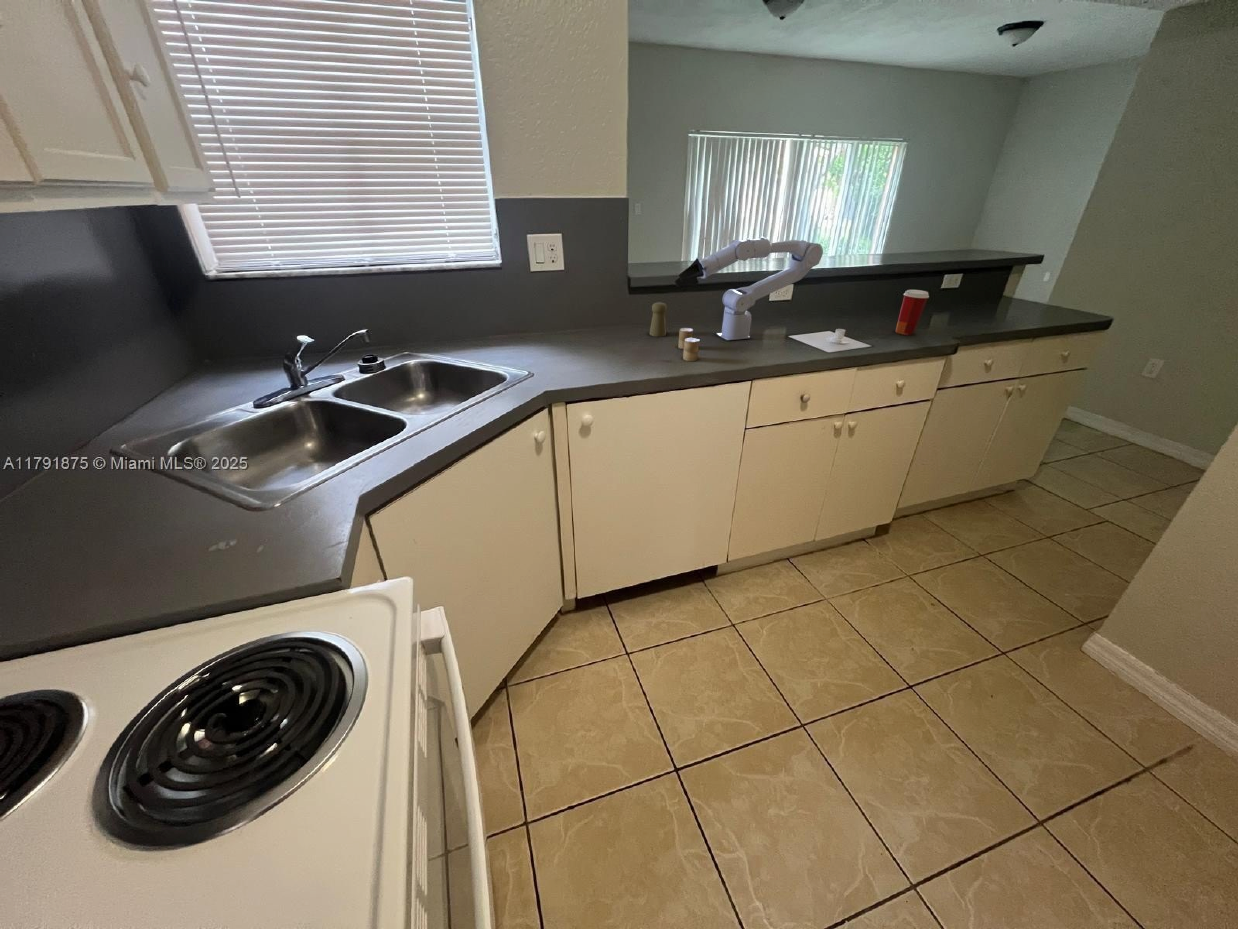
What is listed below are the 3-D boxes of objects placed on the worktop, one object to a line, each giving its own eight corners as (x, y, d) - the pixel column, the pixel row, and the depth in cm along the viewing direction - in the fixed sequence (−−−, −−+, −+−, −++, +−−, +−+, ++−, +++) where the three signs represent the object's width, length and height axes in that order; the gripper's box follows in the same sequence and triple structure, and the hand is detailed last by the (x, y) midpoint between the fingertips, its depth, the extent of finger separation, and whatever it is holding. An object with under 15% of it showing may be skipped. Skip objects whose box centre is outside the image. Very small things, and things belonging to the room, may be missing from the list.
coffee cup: (917, 332, 185) (931, 291, 177) (915, 337, 179) (929, 294, 171) (893, 328, 189) (905, 288, 181) (890, 333, 183) (903, 291, 175)
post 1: (687, 344, 165) (689, 327, 162) (693, 348, 161) (695, 330, 158) (675, 346, 163) (677, 328, 160) (681, 350, 160) (683, 331, 157)
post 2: (692, 356, 155) (694, 337, 152) (699, 360, 151) (701, 341, 148) (680, 357, 153) (682, 338, 150) (687, 361, 150) (688, 342, 147)
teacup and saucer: (836, 346, 167) (839, 334, 165) (819, 339, 173) (822, 328, 171) (855, 343, 170) (858, 331, 168) (837, 337, 176) (840, 326, 174)
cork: (666, 332, 178) (668, 301, 172) (665, 336, 172) (668, 305, 167) (649, 331, 178) (651, 300, 172) (648, 336, 173) (650, 304, 167)
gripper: (705, 257, 166) (669, 275, 166) (715, 243, 152) (676, 263, 152) (713, 277, 167) (678, 294, 167) (724, 264, 152) (686, 284, 153)
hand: (678, 281), depth 159 cm, fingers open, 7 cm apart
